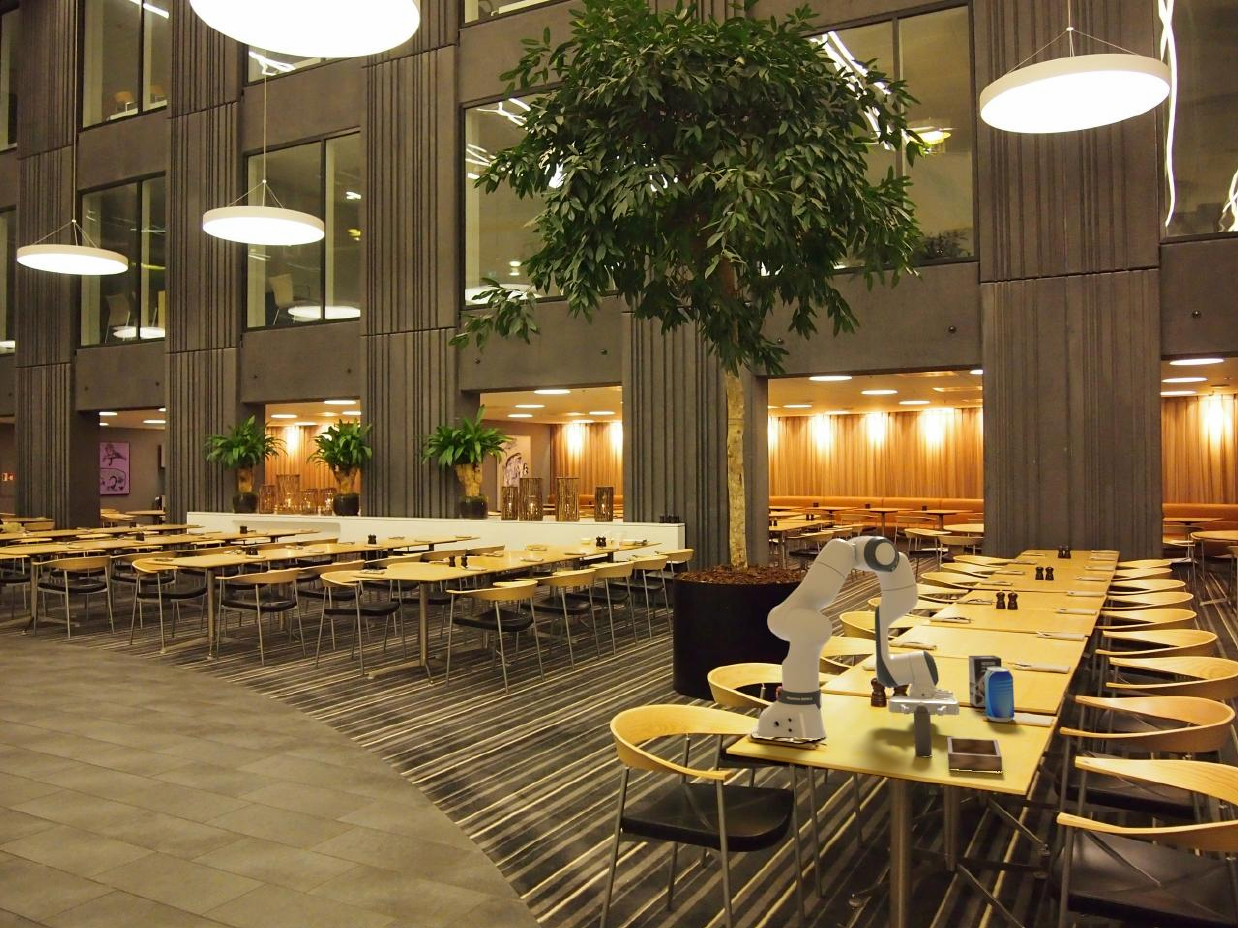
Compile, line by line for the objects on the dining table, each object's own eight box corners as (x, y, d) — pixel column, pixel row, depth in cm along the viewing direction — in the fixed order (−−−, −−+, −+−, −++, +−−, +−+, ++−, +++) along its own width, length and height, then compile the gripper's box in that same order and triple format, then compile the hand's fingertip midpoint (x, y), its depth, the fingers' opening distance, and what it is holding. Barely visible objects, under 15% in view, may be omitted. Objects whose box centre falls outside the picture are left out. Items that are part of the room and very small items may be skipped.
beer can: (1007, 715, 297) (1005, 665, 297) (1019, 722, 288) (1017, 670, 289) (981, 716, 296) (979, 666, 297) (992, 723, 288) (991, 671, 288)
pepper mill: (915, 756, 256) (913, 703, 257) (915, 751, 261) (913, 699, 261) (931, 757, 255) (929, 704, 255) (931, 752, 259) (929, 700, 260)
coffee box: (976, 707, 308) (974, 658, 309) (969, 702, 315) (967, 655, 315) (1003, 706, 308) (1001, 658, 308) (996, 701, 314) (994, 654, 315)
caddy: (949, 770, 244) (948, 753, 244) (947, 753, 259) (947, 736, 259) (1002, 773, 239) (1001, 756, 239) (997, 756, 255) (997, 739, 255)
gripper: (887, 689, 286) (885, 700, 273) (957, 691, 280) (959, 702, 267) (888, 709, 286) (886, 721, 273) (958, 712, 280) (960, 724, 267)
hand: (923, 712), depth 270 cm, fingers open, 8 cm apart
